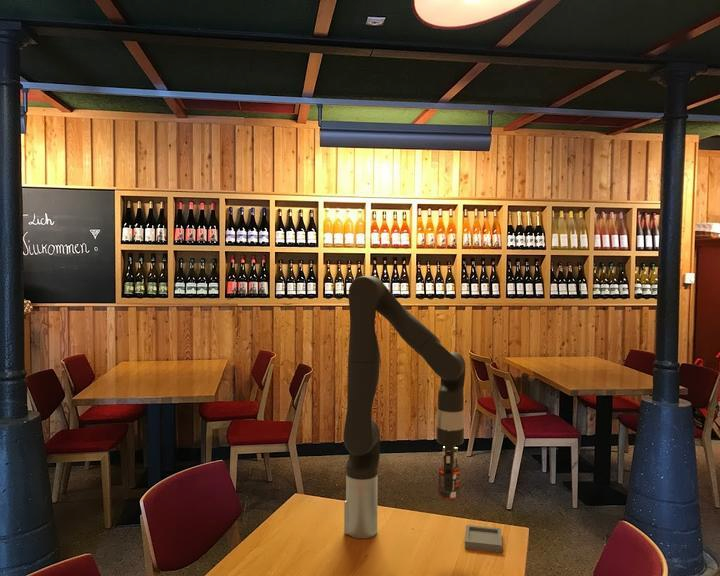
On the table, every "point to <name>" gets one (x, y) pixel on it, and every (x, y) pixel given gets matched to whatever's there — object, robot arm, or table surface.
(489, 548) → the gray square tray
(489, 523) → the table surface
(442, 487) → the supplement bottle
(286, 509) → the table surface
